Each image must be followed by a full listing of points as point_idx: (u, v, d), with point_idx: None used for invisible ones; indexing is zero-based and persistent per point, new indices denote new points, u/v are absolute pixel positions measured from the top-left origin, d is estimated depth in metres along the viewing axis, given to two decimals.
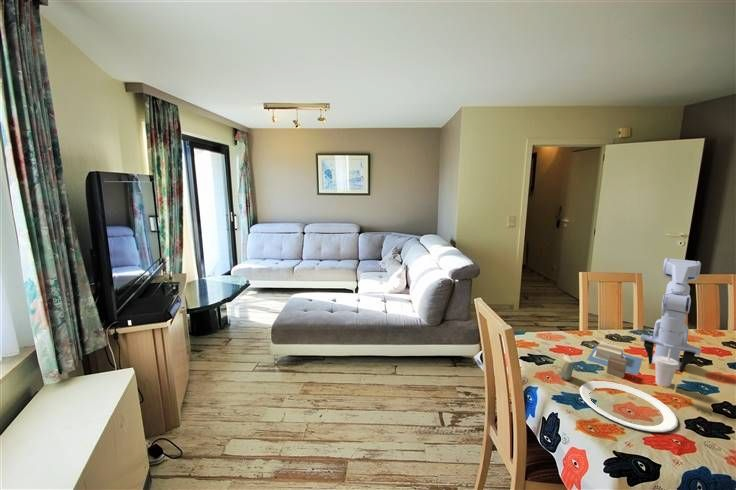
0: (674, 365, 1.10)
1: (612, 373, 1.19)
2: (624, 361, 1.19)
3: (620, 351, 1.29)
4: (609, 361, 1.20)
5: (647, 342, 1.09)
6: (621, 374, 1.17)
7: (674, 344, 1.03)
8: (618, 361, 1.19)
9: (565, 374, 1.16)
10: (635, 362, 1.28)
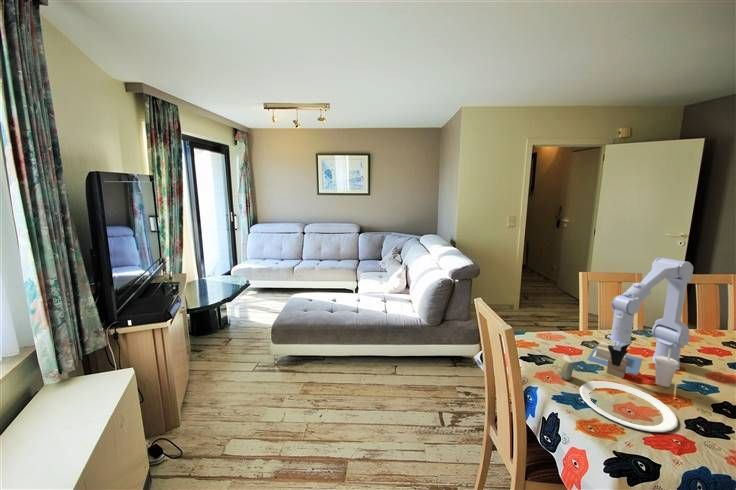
0: (674, 365, 1.10)
1: (612, 373, 1.19)
2: (624, 361, 1.19)
3: None
4: (609, 361, 1.20)
5: None
6: (621, 374, 1.17)
7: (611, 336, 1.19)
8: None
9: (565, 374, 1.16)
10: (635, 362, 1.28)
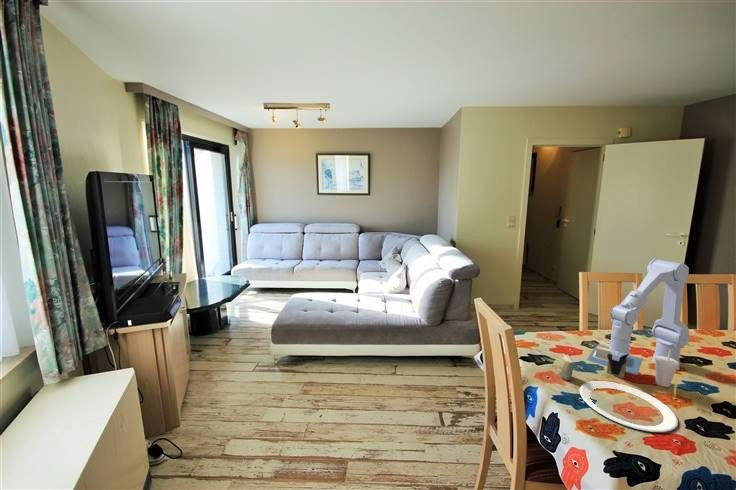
0: (674, 365, 1.10)
1: (612, 373, 1.19)
2: None
3: None
4: None
5: None
6: (621, 374, 1.17)
7: (610, 346, 1.20)
8: None
9: (565, 374, 1.16)
10: (635, 362, 1.28)
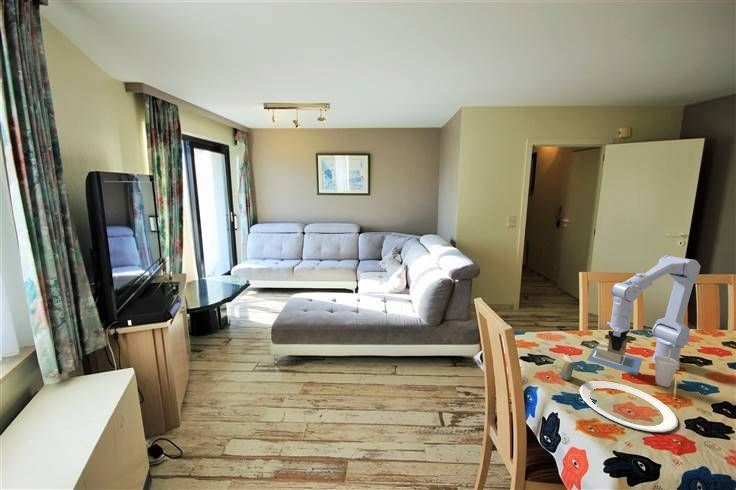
0: (674, 365, 1.10)
1: None
2: None
3: None
4: (610, 338, 1.21)
5: None
6: (622, 350, 1.19)
7: (611, 323, 1.22)
8: None
9: (565, 374, 1.16)
10: (635, 362, 1.28)
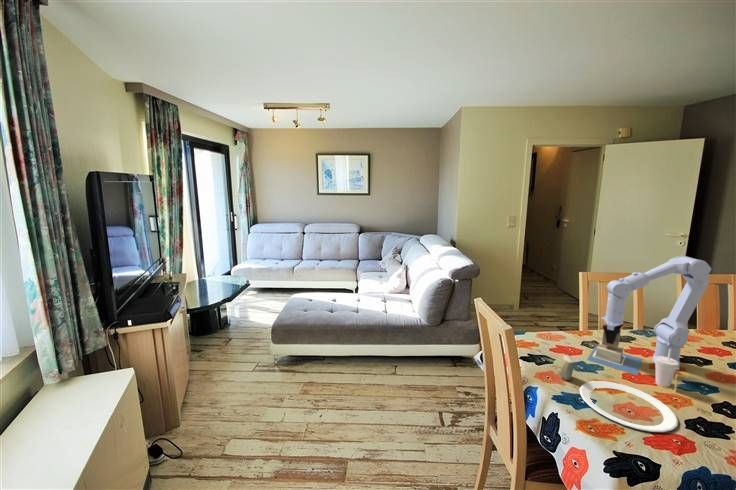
0: (674, 365, 1.10)
1: None
2: None
3: (620, 351, 1.29)
4: (604, 331, 1.30)
5: None
6: (615, 343, 1.28)
7: (605, 318, 1.31)
8: None
9: (565, 374, 1.16)
10: (635, 362, 1.28)
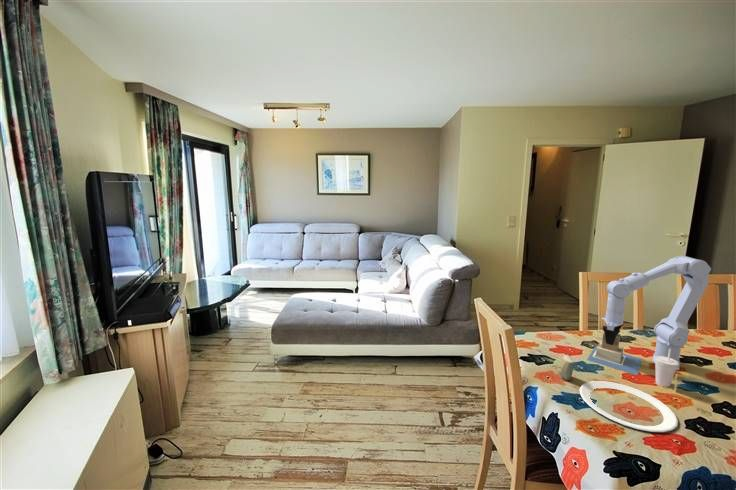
0: (674, 365, 1.10)
1: (606, 346, 1.30)
2: (617, 335, 1.30)
3: (620, 351, 1.29)
4: (604, 335, 1.31)
5: None
6: (615, 347, 1.28)
7: (605, 318, 1.31)
8: None
9: (565, 374, 1.16)
10: (635, 362, 1.28)
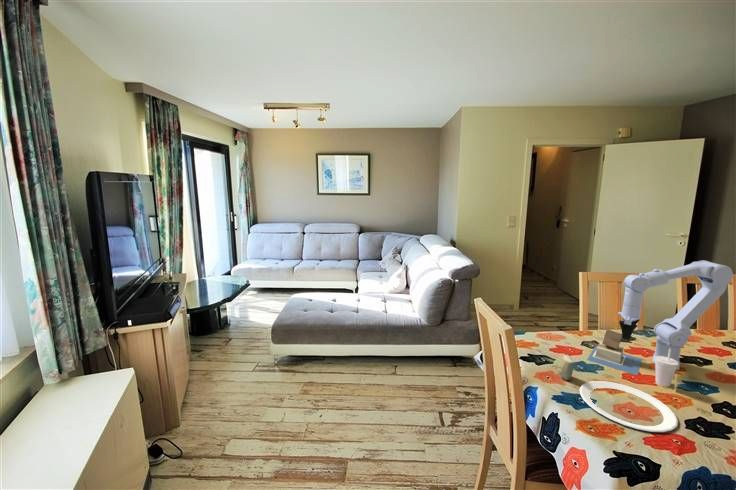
0: (674, 365, 1.10)
1: (608, 342, 1.30)
2: (620, 333, 1.30)
3: (620, 351, 1.29)
4: (607, 331, 1.31)
5: None
6: (616, 343, 1.28)
7: (622, 313, 1.29)
8: (615, 332, 1.30)
9: (565, 374, 1.16)
10: (635, 362, 1.28)
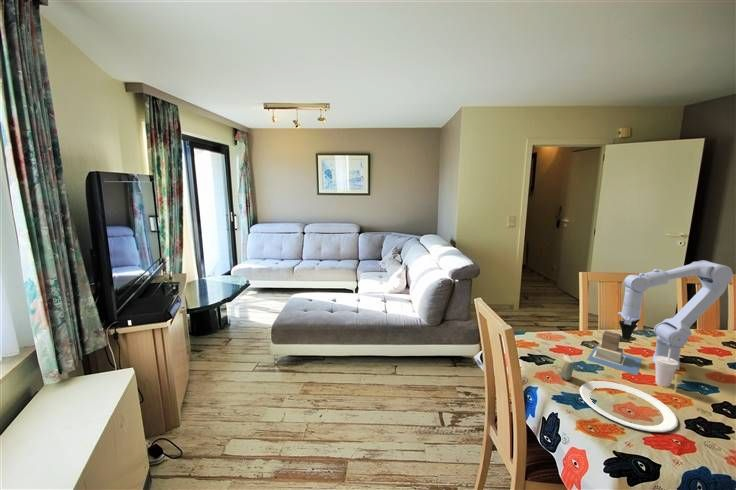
0: (674, 365, 1.10)
1: (606, 346, 1.31)
2: (617, 335, 1.30)
3: (620, 351, 1.29)
4: (603, 335, 1.31)
5: None
6: (615, 346, 1.28)
7: (622, 313, 1.29)
8: (612, 335, 1.30)
9: (565, 374, 1.16)
10: (635, 362, 1.28)
